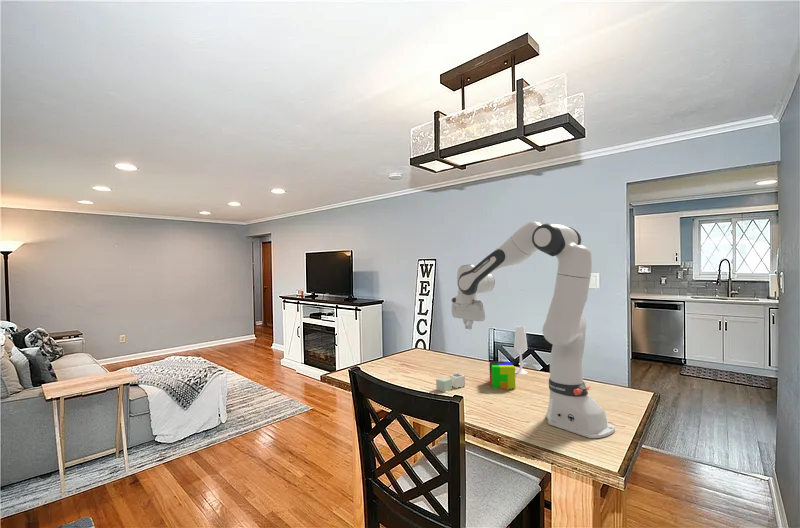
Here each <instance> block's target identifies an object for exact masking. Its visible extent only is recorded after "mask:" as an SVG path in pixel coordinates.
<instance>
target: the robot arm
mask: <svg viewBox="0 0 800 528" xmlns="http://www.w3.org/2000/svg"><path fill="white" fill-rule="evenodd" d="M581 244H582V236H581V235H580V233H579V232H578V230H576V229H574V228H573V227H571V226H565V225H563V224H560V223H558V224H557V223H551V222H549V223H544V224H542V223H540V222H538V221H534V220H533V221H528V222H527V223H525V224H523V225H522V226H521V227H520V228H518V229H517V230H516V231H515V232H514V233H513V234H511V236H510V237H508V239H507V240H506V241H504V242H503V243H502V244H501V245H500V246H499V247H497V248H496V249H495V250H493V251H492V252H491V253H489V254H488V255H487V256H485V257H484V258H483V259H482V260H481V261H480V262H479V263H477V264H476V265H474V264H464V265H461V266H459V267H458V268H457V273H456V285H457V287H458V289H457V295H456V296H454V297H452V298H451V299H450V300H451V301H450V302H451V303H452V304H451V316H452V318H453V319H454V318H455V319H461V320H462V322H463V324H464V329H466V330H472V329H473V324H474V322H484V321H485V319H486V312H485V307H484V304H483V302H482V301H481V300H478V294H486V293H489V292H491V291H492V290H494V287H495V284H496V283H495V282H496V281H495V278H494V275H493V274H492V273H494V271H496V270H498V269H500V268H504V267H508V266H509V267H510V266H513V265H519V264H520V263H522V262H524V261H526V260H527V259H528V258H530V257H531V256H532V255H533V254H535V252H536V251H537V250H538V251H540V252H542V253H544V254H547V255H549V256H550V257H556V258H557V261H558V263H557V272H556V278H555V284H554V290H553V295H552V299H551V302H550V304H549V308H548V312H547V315H546V317H545V318H546V319H545V321H544V324H543V326H542V335H543V337H544V339H545V340H546V341H547V342H548V343H549V344H551V345H552V346H551V352H550V355H549V377H548V378H549V379H548V389H549V397H548V399H549V400H548V406H547V411H546V414H545V418H546V419H547V424H548V425H550V426H553V427H557V428H559V429H562V430H565V431H568V432H571V433H573V434H577V435H580V436H582V437H586V438H588V439H599V438H600V439H601V438H604V437H608V436H611V435H612V434H614V432H615V431H616V427H615V425H613V424H611V423H609V422H608V419H607V414H606V411H605V410H604V409H603V407H602V406H600V405H599V404H598V402H596V400H595V399H594V398H592V396H590V394H589V392H588V391H589V390H591V386H586V383H585V381H584V366H583V365H584V351H585V344H586V330H587V321H586V318H584V316H583V312H584V309H585V305H586V304H587V300H588V295H589V290H590V283H591V276H592V261H593V260H592V258H593V257H592V252H591V250H590V249H589V247H586V246H584V245H581Z"/></svg>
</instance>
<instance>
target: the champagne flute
mask: <svg viewBox="0 0 800 528" xmlns="http://www.w3.org/2000/svg"><path fill="white" fill-rule="evenodd" d="M514 329H515V331H514V344H513V345H514V346H513V349H514V350H515V351H516V353H518V354H519V368H518V369H515V374H518V375H527V374H528V371H527V370H525V369H523V354H525V352H526V351H527V350H528V342H527V334H526V327H525V326H524V325H515V328H514Z"/></svg>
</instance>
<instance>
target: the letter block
mask: <svg viewBox="0 0 800 528" xmlns="http://www.w3.org/2000/svg"><path fill="white" fill-rule="evenodd" d="M449 379H452V386H453V387H452V388H454V387H456V388H457V389H459V388H458V387H461V388H464V387H463V386H465V387H466V375H464V374H460V373H453V374H449ZM456 388H455V389H456Z"/></svg>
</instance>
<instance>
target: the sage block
mask: <svg viewBox="0 0 800 528" xmlns="http://www.w3.org/2000/svg"><path fill="white" fill-rule="evenodd" d="M435 381H436V382H435V383H436V384H435V385H436V387H435V388H436V389H437V390H436V389H435V390H436V391H438V390H440V391H439V392H441V391H443V392H442V393H444V392H445V393H447V392H446V391H448V392H450V391H452V390H453V387H452V379H450V377H445V376H442V377H438V378H436V379H435ZM451 389H452V390H451ZM449 390H450V391H449Z"/></svg>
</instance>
